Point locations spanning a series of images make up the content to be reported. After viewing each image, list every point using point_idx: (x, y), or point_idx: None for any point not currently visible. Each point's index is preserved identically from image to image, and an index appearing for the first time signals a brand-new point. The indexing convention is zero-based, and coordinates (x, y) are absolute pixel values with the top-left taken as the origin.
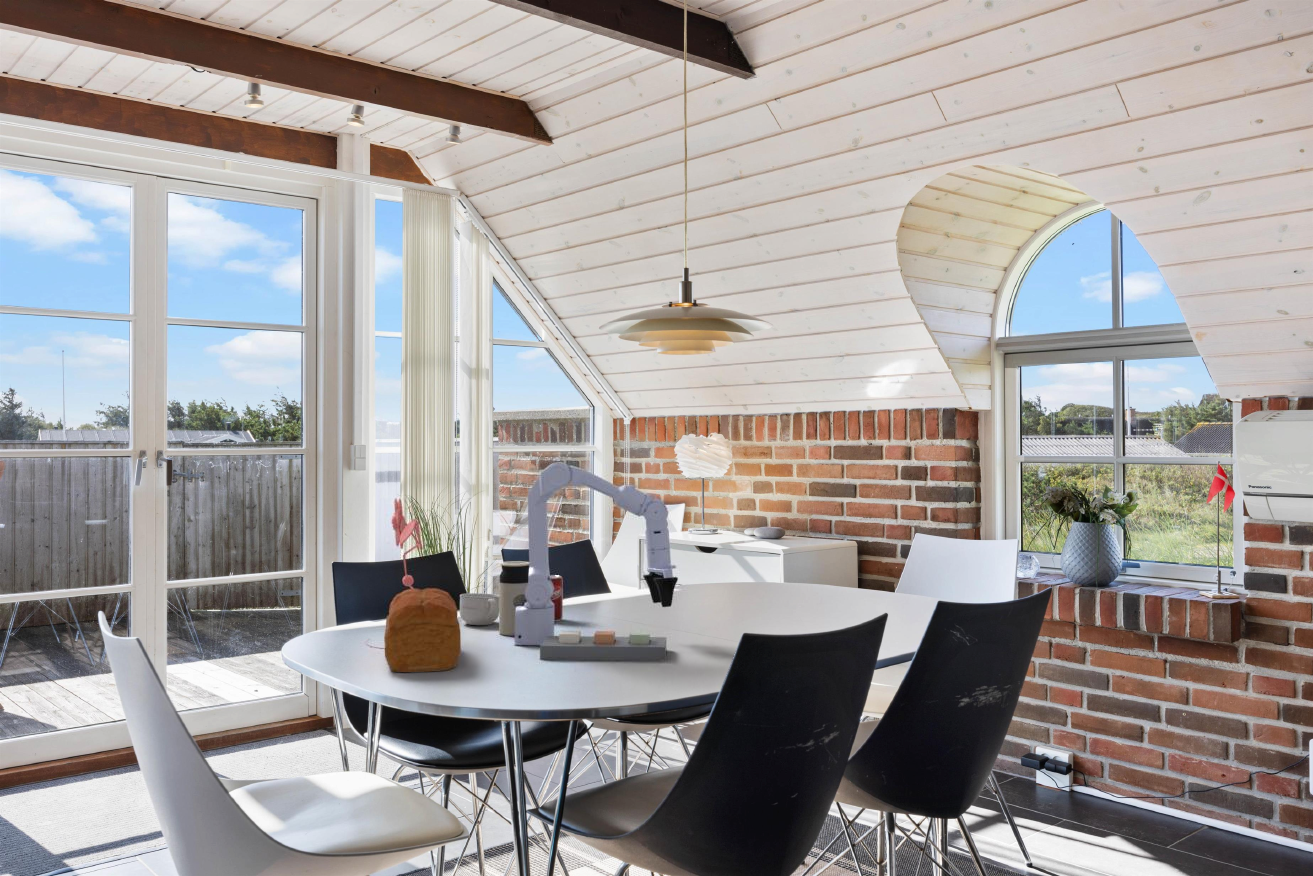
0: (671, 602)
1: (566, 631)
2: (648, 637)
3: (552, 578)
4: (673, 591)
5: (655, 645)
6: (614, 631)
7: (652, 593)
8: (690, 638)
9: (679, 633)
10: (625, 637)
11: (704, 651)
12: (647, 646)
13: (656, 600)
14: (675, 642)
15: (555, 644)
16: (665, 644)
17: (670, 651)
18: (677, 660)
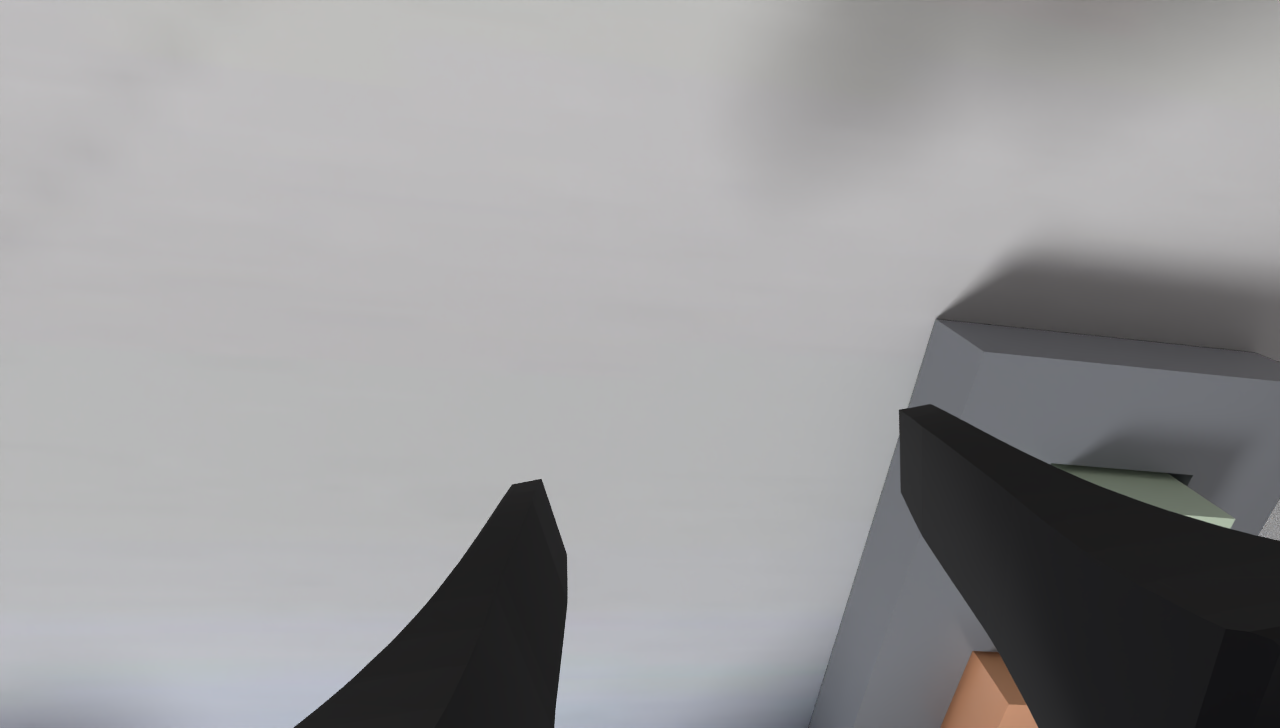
0: (965, 423)
1: None
2: (1218, 510)
3: None
4: (1100, 486)
5: (1253, 445)
6: (1023, 707)
7: (556, 660)
8: (489, 75)
9: (253, 149)
10: (919, 605)
11: (1055, 29)
12: (1262, 494)
13: (558, 550)
14: (661, 226)
15: None
16: (1251, 379)
17: (981, 294)
18: (1273, 275)
